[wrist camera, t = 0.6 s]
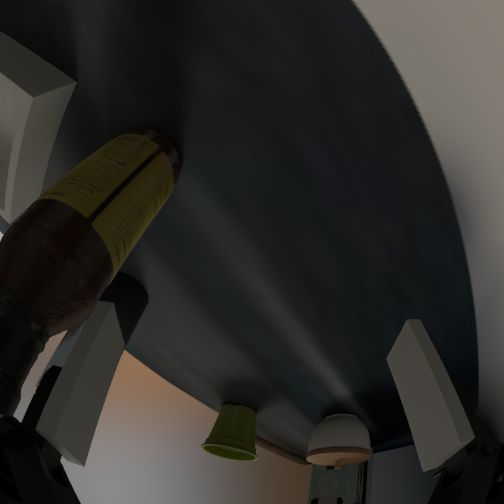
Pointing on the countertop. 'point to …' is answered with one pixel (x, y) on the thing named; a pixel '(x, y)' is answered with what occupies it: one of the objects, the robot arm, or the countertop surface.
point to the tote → (27, 123)
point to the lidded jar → (339, 441)
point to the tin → (127, 310)
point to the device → (341, 483)
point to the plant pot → (233, 434)
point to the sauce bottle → (76, 246)
